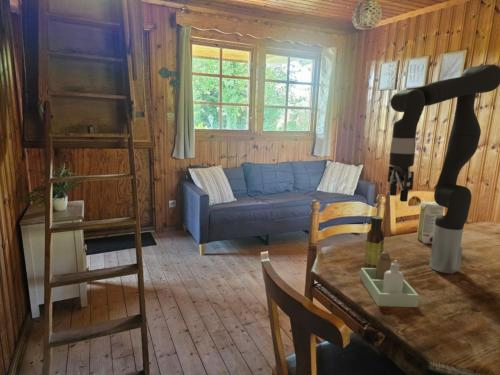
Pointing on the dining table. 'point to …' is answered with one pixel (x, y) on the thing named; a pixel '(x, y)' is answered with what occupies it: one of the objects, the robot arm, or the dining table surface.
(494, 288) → the dining table surface
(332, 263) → the dining table surface
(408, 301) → the caddy
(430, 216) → the juice carton
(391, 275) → the eye dropper bottle
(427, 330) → the dining table surface
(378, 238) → the sauce bottle
